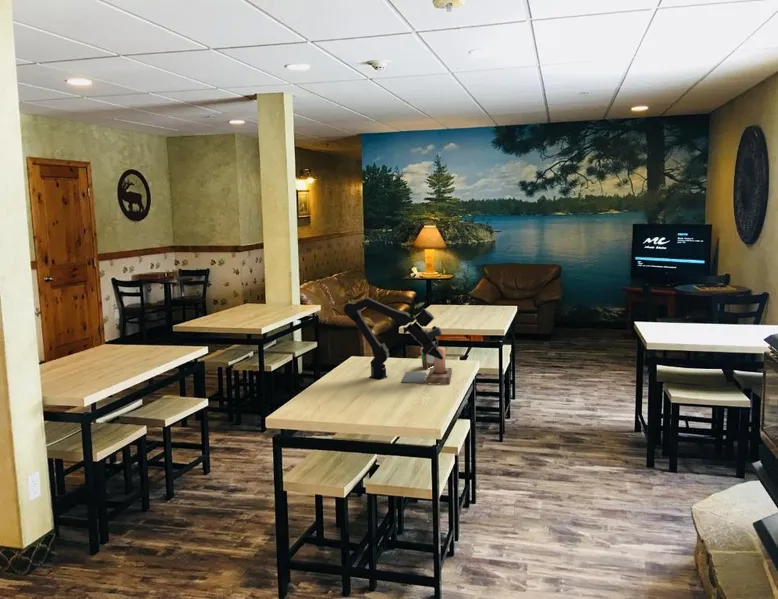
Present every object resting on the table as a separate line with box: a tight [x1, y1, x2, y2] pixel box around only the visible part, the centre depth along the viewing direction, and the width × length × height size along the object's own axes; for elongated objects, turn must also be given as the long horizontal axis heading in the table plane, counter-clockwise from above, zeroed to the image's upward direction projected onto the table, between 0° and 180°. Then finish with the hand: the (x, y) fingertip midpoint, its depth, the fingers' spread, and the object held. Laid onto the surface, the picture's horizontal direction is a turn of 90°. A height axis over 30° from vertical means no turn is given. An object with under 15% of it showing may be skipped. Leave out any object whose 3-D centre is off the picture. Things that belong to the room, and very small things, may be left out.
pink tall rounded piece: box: [433, 346, 446, 373], centre depth 305 cm, size 5×5×11 cm
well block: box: [427, 367, 453, 385], centre depth 306 cm, size 10×18×3 cm, turn 172°
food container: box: [419, 346, 434, 370], centre depth 329 cm, size 12×6×10 cm, turn 144°
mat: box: [401, 371, 427, 384], centre depth 308 cm, size 10×18×1 cm, turn 172°
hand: (442, 357), depth 305 cm, fingers closed on pink tall rounded piece, 5 cm apart
